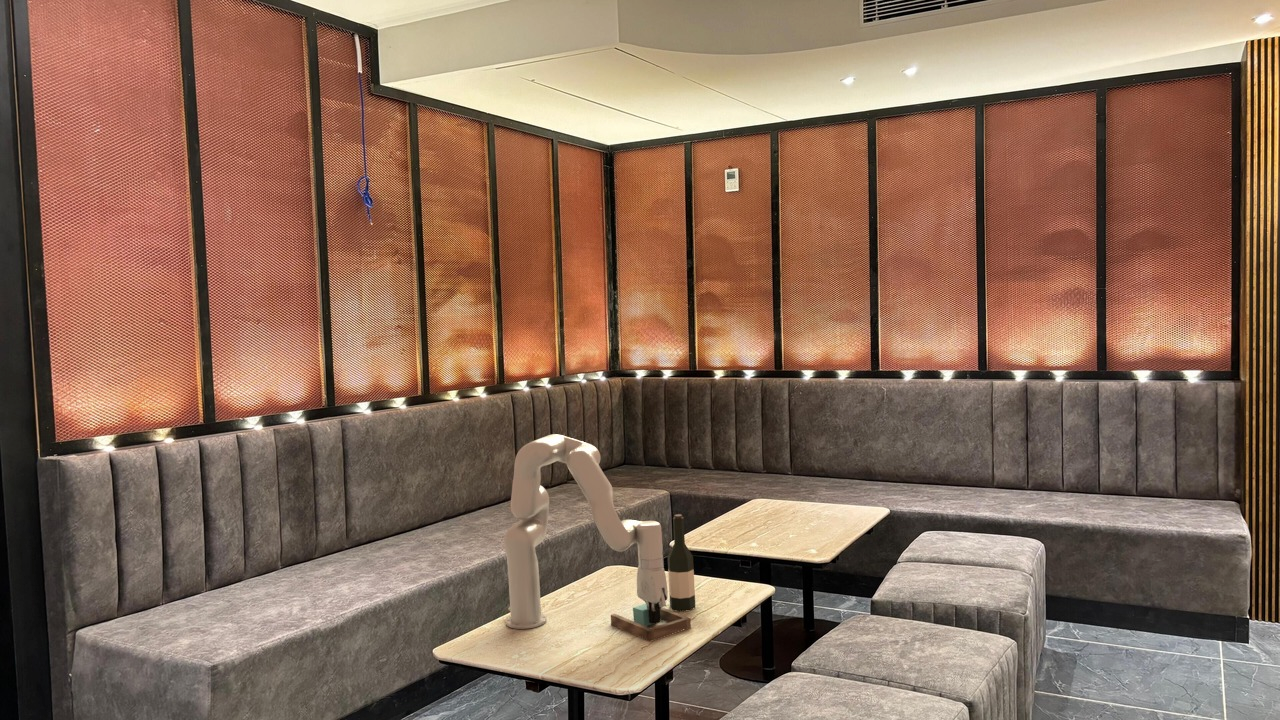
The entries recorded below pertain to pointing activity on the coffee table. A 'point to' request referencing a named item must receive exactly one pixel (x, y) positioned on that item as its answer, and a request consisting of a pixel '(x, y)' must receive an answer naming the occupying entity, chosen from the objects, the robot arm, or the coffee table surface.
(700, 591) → the coffee table surface
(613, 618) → the frame
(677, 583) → the wine bottle
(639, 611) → the teal block
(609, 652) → the coffee table surface
